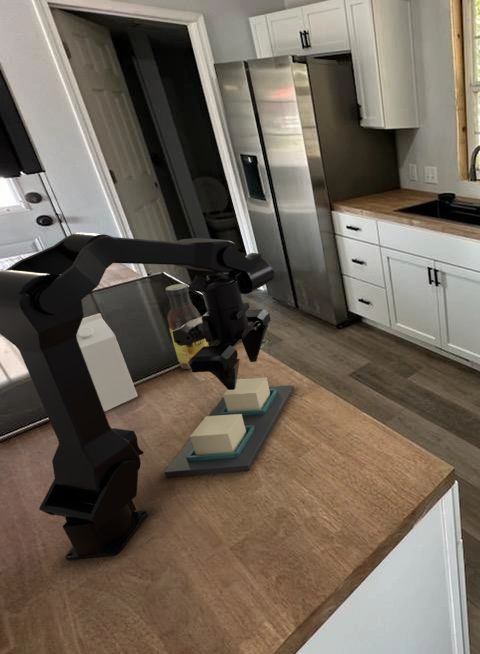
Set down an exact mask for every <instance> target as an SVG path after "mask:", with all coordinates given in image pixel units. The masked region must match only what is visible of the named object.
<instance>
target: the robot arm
mask: <svg viewBox="0 0 480 654" xmlns="http://www.w3.org/2000/svg"><path fill="white" fill-rule="evenodd" d="M113 264H132V265H133V264H134V265H135V264H137V265H167V266H169V265H171V266H176V267H178V268H184V269H189V270H193V271H201V272H202V271H203V272H212V273H211V274H208V275H195V277H194V279H193V280H192V282H191V283H190V284H189V285H188V290H189V292H191V291H192V292H200V293H201V295H202V298H203V301H204V305H205V308H206V312H205V313H204V314H203V315H201V317H199V318H197V319H194V320H191V321H189V322H188V323H186V324H185V325H183V326H182V327H181V328H180V327H178V328H176V329H175V330H174V331H173V338H174V342H175V343H177V344H178V345H180V346H184V345H186V346H189V345H191V344H192V343H194V342H197V341H200V340H203V339H206V342H208V343H211V342H212V343H213V342H214V341H217V342H218V344H217V345H209V346H203V347H202V348H201V349H200V350H199V351H198V352H197V353H196V354H195V355H194V356H193V357H192V358H191V359H190V360H189V361H188V363H189V366H190V369H189V370H190V371H191V373H211V374H212V375H213V376H215V377H216V378H217V380H218V381H220V382H221V384H222V385H223V386H224V387H225V388H226V389H228V390H234V389H235V388H236V383H237V379H238V374H239V367H240V361H241V360H240V359H241V358H238V357H239V356H238V355H239V354H238V349H237V348H236V346H237V345H238V344H239V343H240V342H241V343H242V346H243V348H244V350H245V353H246V356H247V358H248V360H249V362H250V363H256V362H257V361H258V358H259V355H260V351H261V347H262V344H263V341H264V338H265V336H266V332H267V330H268V328H269V323H270V322H271V316H270V312H269V311H267V310H265V309H263V308H261V309H250V308H251V307H250V303H249V302H244V299H243V295H249V294H250V293H253V292H254V291H256V290H258V289H260V288H261V287H263V286H265V285H267V284H269V283H271V282H272V281H273V280H274V277H275V271H274V268H272V266H271V264H270V263H269V262H268V261H266V260H265V259H263V258H262V254H261V253H260V252H259V253H257V252H250V253H247V255H244V254H243V253H242V252H241V251H239V250H238V248H237V246H236V243H235V242H233V241H231V240H229V239H218V238H217V239H216V238H215V239H214V238H203V237H194V238H182V239H178V240H174V241H172V240H171V241H165V240H153V239H141V238H130V237H117V236H112V235H109V234H103V233H93V232H74V233H72V234H70V235H67V236H65V237H64V238H63V239H61V240H60V241H58V242H57V243H55V244H54V245H52V246H50V247H47V248H45V249H43V250H40V251H38V252H36V253H34V254H31V255H29V256H27V257H24V258H22V259H20V260H18V261H17V262H15V263H13V264H12V265H10V266H9V267H8V268H6V269H5V270H0V335H1V336H2V337H3V338H4V339H6V340H7V341H8V342H10V343H11V344H12V345H13V346H15V348H16V349H17V350H18V351H19V353H20V356H21V358H22V360H23V363H24V365H25V367H26V369H27V372H28V374H29V376H30V379H31V381H32V383H33V385H34V388H35V390H36V392H37V395H38V397H39V399H40V402H41V404H42V406H43V408H44V411H45V413H46V416H47V418H48V421H49V422H50V425H51V427H52V429H53V432H54V433H55V436H56V438H57V443H58V445H57V448H56V450H55V452H54V455H53V457H52V460H51V463H52V470H53V476H54V479H53V481H52V482H51V485H50V487H49V489H48V490H47V492H46V494H45V496H44V498H43V500H42V502H41V504H40V505H39V511H41V512H43V513H45V514H47V515H50V516H58V517H65V523H64V524H62V529H63V530H64V532H65V534H66V536H67V538H68V540H69V541H70V544H71V546H72V547H71V548H70V550H69V551H68V552H67V553H66V554H65V556H64V559H65V560H66V561H76V560H84V559H93V558H103V557H104V558H105V557H113V556H116V555H118V554H120V552H122V550H123V549H124V547H125V546H126V545H127V543H128V542H129V541H130V539H131V538H132V537H133V536H134V534H135V533H136V531H137V530H138V529H139V528H140V526H141V525H142V523H143V522H144V521H145V519H147V516H148V515H149V513H148V511H147V510H139V511H137V508H136V506H135V503H134V501H133V499H135V498H136V497H137V495H138V483H139V482H138V481H139V479H138V478H139V471H140V469H141V466H142V465H141V464H142V462H141V457H140V456H142V455H144V453H145V452H144V451H143V450H142V449H141V448H140V447H139V443H138V436H137V434H136V432H135V431H134V430H130V429H123V428H117V427H111V425H110V423H109V421H108V418H107V415H106V413H105V412H106V411H105V412H104V410H103V407H102V404H101V402H100V399H99V396H98V394H97V391H96V388H95V386H94V383H93V380H92V378H91V375H90V372H89V370H88V367H87V364H86V362H85V359H84V356H83V354H82V351H81V348H80V346H79V343H78V340H77V332H78V329H79V327H80V324H81V322H82V319H83V318H84V315H85V314H84V306H83V300H84V299H85V297H87V296H88V295H89V294H90V293H92V292H93V291H94V290H95V289H96V288H97V287H98V286H99V285H100V283H101V281H102V279H103V276H104V274H105V272H106V271H107V269H108V268H109V267H110V266H111V265H113ZM242 294H243V295H242Z"/></svg>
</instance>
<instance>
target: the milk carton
mask: <svg viewBox="0 0 480 654" xmlns="http://www.w3.org/2000/svg"><path fill="white" fill-rule="evenodd" d="M77 340H78V343H79V346H80V348H81V351H82V354H83V356H84V359H85V362H86V364H87V367H88V370H89V372H90V375H91V378H92V380H93V383H94V386H95V388H96V391H97V394H98V396H99V399H100V402H101V404H102V407H103V410H104V412H107V411H109V410H111V409H114V408H115V407H118V406H120V405H122V404H124V403H126V402H129V401H132V400H133V399H135V398H137V397H138V396H139V395H138V392H137V390H136V387H135V385H134V381H133V380H132V377H131V374H130V371H129V369H128V367H127V363H126V361H125V358H124V355H123V352H122V350H121V348H120V345H119V342H118V339H117V337H116V334H115V333H114V332H113V330H112V329H111V327H110V326H109V325H108V323H106V321H105V320H104V318H103V316H102V314H101V313H95V314H93V315H89V316H86V317H83V319H82V322H81V324H80V327H79V329H78V332H77Z"/></svg>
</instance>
